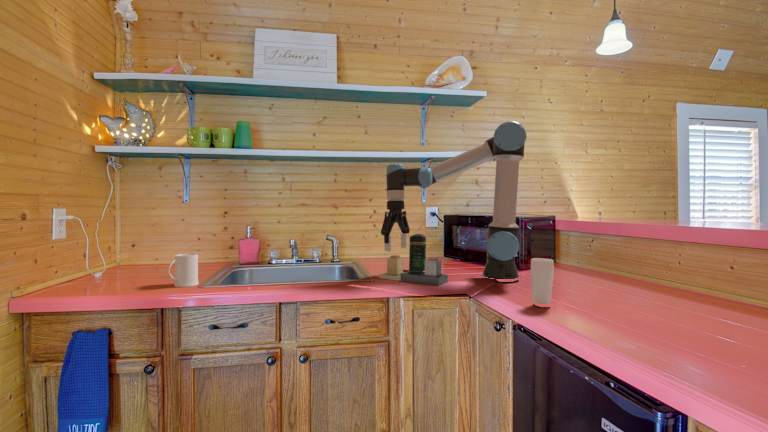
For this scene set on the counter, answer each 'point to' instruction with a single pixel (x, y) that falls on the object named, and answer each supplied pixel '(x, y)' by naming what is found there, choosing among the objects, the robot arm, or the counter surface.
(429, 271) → the steel plug
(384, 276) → the tray
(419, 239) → the coffee jar
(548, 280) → the drinking glass
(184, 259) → the mug
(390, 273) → the tan rectangular block
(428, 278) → the dark grey flat block
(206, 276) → the counter surface
